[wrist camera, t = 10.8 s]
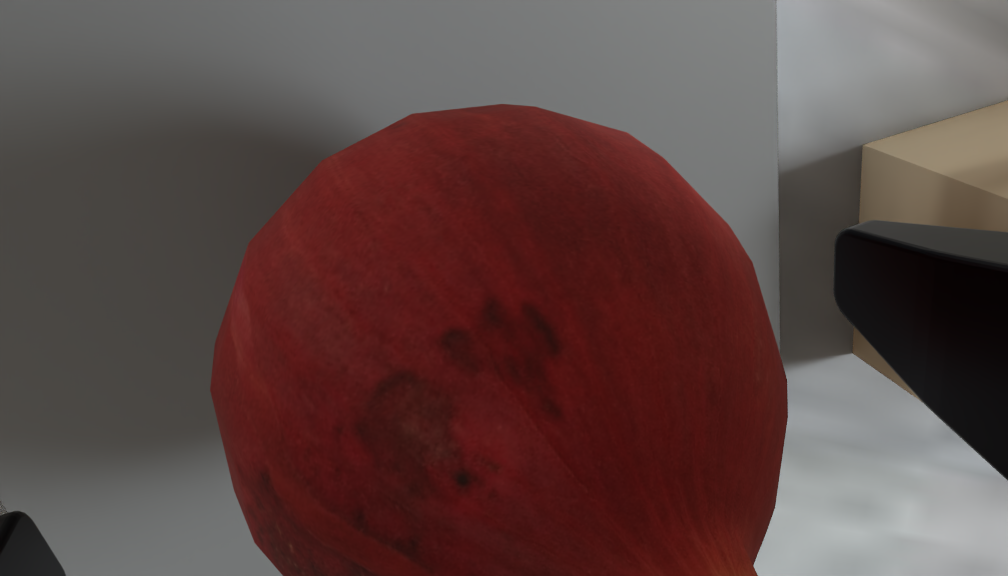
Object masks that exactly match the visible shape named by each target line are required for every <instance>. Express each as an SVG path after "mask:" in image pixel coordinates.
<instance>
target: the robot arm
mask: <svg viewBox="0 0 1008 576" xmlns="http://www.w3.org/2000/svg"><path fill="white" fill-rule="evenodd" d="M834 297H835V300H836V303H837V306H838V307H839V309H840V311H841V312H842V313H843V315H844V316H845V317H846V318H847V319H848V320H849V321H850V322H851V324H852V325H853V326H854V327H855V328H856V329H857V330H858V331H859V332H860V334H861V335H862V336H863V337H864V338H865V339H866V340H867V341H868V343H869V344H870V345H871V346H872V347H873V348H874V349H875V350H876V351H877V353H878V354H879V355H880V356H881V357H882V358H883V359H884V360H885V361H886V363H887V364H888V365H889V366H890V367H891V368H892V369H893V370H894V372H895V373H896V374H897V375H898V376H899V377H900V378H901V379H902V380H903V382H904V383H905V384H906V385H907V386H908V387H909V388H910V389H911V390H912V391H913V392H914V393H915V395H916V396H917V397H918V398H919V399H920V400H921V401H922V402H923V403H924V404H925V405H926V406H927V407H928V408H929V409H930V410H931V411H932V412H933V413H935V414H936V415H937V416H938V417H939V418H940V419H941V420H942V421H943V422H944V423H945V424H946V425H947V426H949V427H950V428H951V429H952V430H953V431H954V432H955V433H956V434H957V435H958V436H960V437H961V438H962V439H963V440H964V441H965V442H966V443H967V444H968V445H969V446H970V447H972V448H973V449H974V450H975V451H976V452H977V453H978V454H979V455H980V456H981V457H982V458H984V459H985V460H986V461H987V462H988V463H989V464H990V465H991V466H992V467H993V468H995V469H996V470H997V471H998V472H999V473H1000V474H1001V475H1002V476H1003V477H1004V478H1005V479H1007V480H1008V232H1001V231H990V230H979V229H968V228H957V227H946V226H935V225H924V224H913V223H902V222H891V221H880V220H870V221H866V222H863V223H860V224H857V225H854V226H851V227H848V228H846V229H843V230H842V231H841V232H840V233H839V234H838V235H837V238H836V240H835V254H834ZM0 576H66V574H65V571H64V569H63V567H62V566H61V564H60V563H59V561H58V559H57V558H56V556H55V555H54V553H53V551H52V550H51V548H50V547H49V545H48V543H47V542H46V540H45V539H44V537H43V536H42V534H41V532H40V531H39V529H38V528H37V526H36V524H35V523H34V521H33V520H32V519H31V518H30V517H29V516H28V515H27V514H26V513H24V512H21V511H13V512H9V513H6V514H4V515H1V516H0Z"/></svg>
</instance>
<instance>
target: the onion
mask: <svg viewBox="0 0 1008 576" xmlns="http://www.w3.org/2000/svg"><path fill="white" fill-rule="evenodd" d="M210 392H211V396H212V400H213V404H214V409H215V413H216V417H217V421H218V425H219V430H220V434H221V438H222V442H223V446H224V451H225V455H226V459H227V463H228V467H229V472H230V476H231V480H232V484H233V488H234V492H235V494H236V497H237V499H238V502H239V505H240V507H241V510H242V512H243V515H244V517H245V520H246V522H247V525H248V527H249V530H250V532H251V535H252V538H253V540H254V543H255V544H256V545H257V546H258V547H259V549H260V550H261V551H262V552H263V553H264V554H265V556H266V557H267V558H268V559H269V560H270V561H271V563H272V564H273V565H274V566H275V567H276V568H277V570H278V571H279V572H280V573H281V574H282V575H283V576H758V575H757V573H756V571H755V569H754V567H753V564H754V562H755V559H756V557H757V554H758V552H759V549H760V547H761V544H762V542H763V539H764V537H765V534H766V532H767V529H768V526H769V523H770V520H771V517H772V514H773V511H774V509H775V503H776V496H777V489H778V482H779V475H780V468H781V461H782V454H783V446H784V439H785V432H786V425H787V418H788V408H787V379H786V375H785V371H784V368H783V364H782V360H781V357H780V353H779V349H778V346H777V342H776V339H775V335H774V332H773V329H772V326H771V322H770V319H769V316H768V312H767V309H766V306H765V302H764V299H763V296H762V292H761V289H760V286H759V282H758V279H757V276H756V272H755V269H754V266H753V262H752V261H751V259H750V258H749V256H748V254H747V253H746V251H745V250H744V248H743V246H742V245H741V243H740V242H739V240H738V238H737V237H736V235H735V234H734V232H733V230H732V229H731V227H730V226H729V225H728V223H727V222H726V221H725V220H724V219H723V218H722V217H721V216H720V215H719V214H718V213H717V212H716V211H715V210H714V209H713V208H712V207H711V206H710V205H709V204H708V203H707V202H706V201H705V200H704V199H703V198H702V197H701V196H700V195H699V194H698V193H697V192H696V190H695V189H694V188H693V187H692V186H691V185H690V184H689V183H688V182H687V181H686V180H685V179H684V178H683V177H682V176H681V175H680V174H679V173H678V172H677V171H676V170H675V169H674V168H673V167H672V166H671V165H670V164H669V163H668V162H667V161H666V160H665V159H664V158H663V157H662V156H660V155H659V154H658V153H656V152H655V151H653V150H652V149H650V148H649V147H647V146H646V145H645V144H643V143H642V142H640V141H639V140H637V139H636V138H635V137H633V136H632V135H630V134H629V133H627V132H624V131H620V130H617V129H613V128H610V127H606V126H602V125H599V124H595V123H592V122H588V121H585V120H581V119H578V118H574V117H571V116H567V115H564V114H560V113H557V112H553V111H549V110H546V109H542V108H539V107H535V106H523V105H510V104H496V105H487V106H478V107H469V108H460V109H451V110H442V111H432V112H423V113H414V114H410V115H408V116H407V117H405V118H403V119H401V120H399V121H397V122H395V123H393V124H391V125H389V126H387V127H385V128H383V129H382V130H380V131H378V132H376V133H374V134H372V135H370V136H368V137H366V138H364V139H362V140H360V141H358V142H357V143H355V144H353V145H351V146H349V147H347V148H345V149H343V150H341V151H339V152H337V153H335V154H333V155H331V156H330V157H328V158H326V159H324V160H322V161H321V162H320V163H319V164H318V165H317V167H316V168H315V169H314V170H313V171H312V172H311V173H310V174H309V176H308V177H307V178H306V179H305V180H304V181H303V182H302V183H301V185H300V186H299V187H298V188H297V189H296V190H295V191H294V192H293V194H292V195H291V196H290V197H289V198H288V199H287V200H286V201H285V203H284V204H283V205H282V206H281V207H280V208H279V209H278V210H277V211H276V213H275V214H274V215H273V216H272V217H271V218H270V219H269V220H268V222H267V223H266V224H265V225H264V226H263V227H262V228H261V229H260V231H259V232H258V233H257V234H256V235H255V236H254V237H253V238H252V240H251V241H250V242H249V243H248V246H247V249H246V252H245V255H244V258H243V261H242V264H241V267H240V270H239V273H238V276H237V279H236V282H235V285H234V288H233V291H232V294H231V297H230V300H229V303H228V306H227V309H226V312H225V315H224V318H223V321H222V324H221V326H220V329H219V332H218V335H217V338H216V341H215V347H214V357H213V366H212V376H211V386H210Z"/></svg>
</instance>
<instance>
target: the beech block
mask: <svg viewBox="0 0 1008 576" xmlns="http://www.w3.org/2000/svg"><path fill="white" fill-rule="evenodd" d="M870 220H880V221H891V222H902V223H913V224H924V225H935V226H946V227H957V228H968V229H979V230H990V231H1001V232H1008V100H1007V101H1004V102H1001V103H998V104H994V105H991V106H988V107H984V108H981V109H978V110H975V111H971V112H968V113H965V114H962V115H958V116H955V117H952V118H949V119H945V120H942V121H939V122H935V123H932V124H929V125H926V126H922V127H919V128H916V129H913V130H909V131H906V132H903V133H899V134H896V135H893V136H890V137H886V138H883V139H880V140H877V141H873V142H870V143H867V144H864V145H863V150H862V170H861V190H860V210H859V224H860V223H863V222H866V221H870ZM852 353H853V354H854V355H856V356H857V357H859V358H860V359H862V360H863V361H864V362H866V363H867V364H869V365H870V366H872V367H873V368H874V369H876V370H877V371H879V372H880V373H882V374H883V375H884V376H886V377H887V378H889V379H890V380H892V381H893V382H894V383H896V384H897V385H899V386H900V387H902V388H903V389H904V390H906V391H907V392H909V393H910V394H911V395H913V396H914V397H916V398H917V399H919V398H918V397H917V396H916V395H915V393H914V392H913V391H912V390H911V389H910V388H909V387H908V386H907V385H906V384H905V383H904V382H903V380H902V379H901V378H900V377H899V376H898V375H897V374H896V373H895V372H894V370H893V369H892V368H891V367H890V366H889V365H888V364H887V363H886V361H885V360H884V359H883V358H882V357H881V356H880V355H879V354H878V353H877V351H876V350H875V349H874V348H873V347H872V346H871V345H870V344H869V343H868V341H867V340H866V339H865V338H864V337H863V336H862V335H861V334H860V332H859V331H858V330H857V329H856V328H855V327H854V330H853V351H852ZM919 400H920V399H919ZM920 401H921V400H920ZM921 402H922V401H921Z"/></svg>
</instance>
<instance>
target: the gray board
mask: <svg viewBox="0 0 1008 576" xmlns="http://www.w3.org/2000/svg"><path fill="white" fill-rule="evenodd" d="M496 104H510V105H523V106H535V107H539V108H542V109H546V110H549V111H553V112H557V113H560V114H564V115H567V116H571V117H574V118H578V119H581V120H585V121H588V122H592V123H595V124H599V125H602V126H606V127H610V128H613V129H617V130H620V131H624V132H627V133H629V134H630V135H632V136H633V137H635V138H636V139H637V140H639V141H640V142H642V143H643V144H645V145H646V146H647V147H649V148H650V149H652V150H653V151H655V152H656V153H658V154H659V155H660V156H662V157H663V158H664V159H665V160H666V161H667V162H668V163H669V164H670V165H671V166H672V167H673V168H674V169H675V170H676V171H677V172H678V173H679V174H680V175H681V176H682V177H683V178H684V179H685V180H686V181H687V182H688V183H689V184H690V185H691V186H692V187H693V188H694V189H695V190H696V192H697V193H698V194H699V195H700V196H701V197H702V198H703V199H704V200H705V201H706V202H707V203H708V204H709V205H710V206H711V207H712V208H713V209H714V210H715V211H716V212H717V213H718V214H719V215H720V216H721V217H722V218H723V219H724V220H725V221H726V222H727V223H728V225H729V226H730V227H731V229H732V230H733V232H734V234H735V235H736V237H737V238H738V240H739V242H740V243H741V245H742V246H743V248H744V250H745V251H746V253H747V254H748V256H749V258H750V259H751V261H752V262H753V266H754V269H755V272H756V276H757V279H758V282H759V286H760V289H761V292H762V296H763V299H764V302H765V306H766V309H767V312H768V316H769V319H770V322H771V326H772V329H773V332H774V335H775V339H776V342H777V346H778V349H779V353H780V285H779V198H778V111H777V23H776V0H0V501H1V503H2V504H3V506H4V507H5V509H6V510H7V512H8V513H9V512H13V511H21V512H24V513H26V514H27V515H28V516H29V517H30V518H31V519H32V520H33V521H34V523H35V524H36V526H37V528H38V529H39V531H40V532H41V534H42V536H43V537H44V539H45V540H46V542H47V543H48V545H49V547H50V548H51V550H52V551H53V553H54V555H55V556H56V558H57V559H58V561H59V563H60V564H61V566H62V567H63V569H64V571H65V574H66V576H283V575H282V574H281V573H280V572H279V571H278V570H277V568H276V567H275V566H274V565H273V564H272V563H271V561H270V560H269V559H268V558H267V557H266V556H265V554H264V553H263V552H262V551H261V550H260V549H259V547H258V546H257V545H256V544H255V543H254V540H253V538H252V535H251V532H250V530H249V527H248V525H247V522H246V520H245V517H244V515H243V512H242V510H241V507H240V505H239V502H238V499H237V497H236V494H235V492H234V488H233V484H232V480H231V476H230V472H229V467H228V463H227V459H226V455H225V451H224V446H223V442H222V438H221V434H220V430H219V425H218V421H217V417H216V413H215V409H214V404H213V400H212V396H211V392H210V386H211V376H212V366H213V357H214V347H215V341H216V338H217V335H218V332H219V329H220V326H221V324H222V321H223V318H224V315H225V312H226V309H227V306H228V303H229V300H230V297H231V294H232V291H233V288H234V285H235V282H236V279H237V276H238V273H239V270H240V267H241V264H242V261H243V258H244V255H245V252H246V249H247V246H248V243H249V242H250V241H251V240H252V238H253V237H254V236H255V235H256V234H257V233H258V232H259V231H260V229H261V228H262V227H263V226H264V225H265V224H266V223H267V222H268V220H269V219H270V218H271V217H272V216H273V215H274V214H275V213H276V211H277V210H278V209H279V208H280V207H281V206H282V205H283V204H284V203H285V201H286V200H287V199H288V198H289V197H290V196H291V195H292V194H293V192H294V191H295V190H296V189H297V188H298V187H299V186H300V185H301V183H302V182H303V181H304V180H305V179H306V178H307V177H308V176H309V174H310V173H311V172H312V171H313V170H314V169H315V168H316V167H317V165H318V164H319V163H320V162H321V161H322V160H324V159H326V158H328V157H330V156H331V155H333V154H335V153H337V152H339V151H341V150H343V149H345V148H347V147H349V146H351V145H353V144H355V143H357V142H358V141H360V140H362V139H364V138H366V137H368V136H370V135H372V134H374V133H376V132H378V131H380V130H382V129H383V128H385V127H387V126H389V125H391V124H393V123H395V122H397V121H399V120H401V119H403V118H405V117H407V116H408V115H410V114H414V113H423V112H432V111H442V110H451V109H460V108H469V107H478V106H487V105H496Z"/></svg>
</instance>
